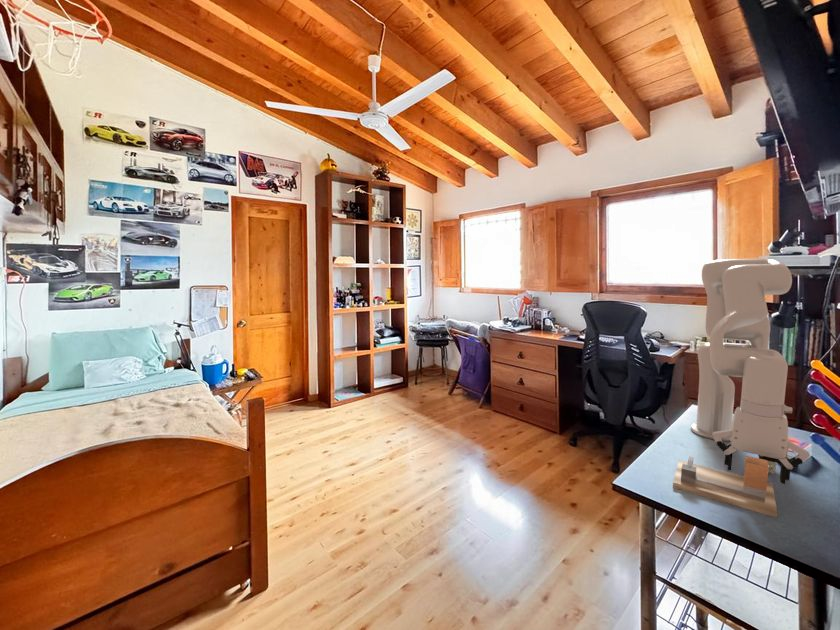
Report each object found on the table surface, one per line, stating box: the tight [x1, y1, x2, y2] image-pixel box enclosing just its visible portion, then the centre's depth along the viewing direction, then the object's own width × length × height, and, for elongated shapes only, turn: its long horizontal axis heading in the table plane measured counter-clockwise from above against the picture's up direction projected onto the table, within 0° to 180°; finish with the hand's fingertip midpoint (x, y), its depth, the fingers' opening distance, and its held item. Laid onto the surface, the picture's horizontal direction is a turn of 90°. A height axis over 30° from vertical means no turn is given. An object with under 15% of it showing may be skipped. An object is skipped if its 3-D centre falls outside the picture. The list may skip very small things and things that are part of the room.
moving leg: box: [743, 455, 769, 498], centre depth 93 cm, size 9×4×9 cm, turn 140°
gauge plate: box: [672, 455, 778, 518], centre depth 98 cm, size 14×20×5 cm
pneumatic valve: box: [757, 455, 782, 475], centre depth 105 cm, size 6×12×12 cm, turn 144°
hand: (754, 474), depth 91 cm, fingers open, 9 cm apart
